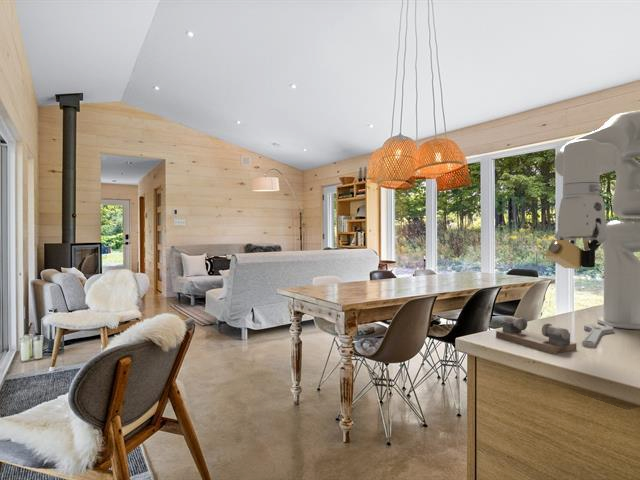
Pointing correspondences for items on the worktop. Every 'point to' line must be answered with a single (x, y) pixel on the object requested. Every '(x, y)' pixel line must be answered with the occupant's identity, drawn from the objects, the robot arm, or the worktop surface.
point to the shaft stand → (536, 336)
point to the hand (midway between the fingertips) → (579, 265)
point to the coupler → (565, 254)
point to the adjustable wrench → (595, 334)
